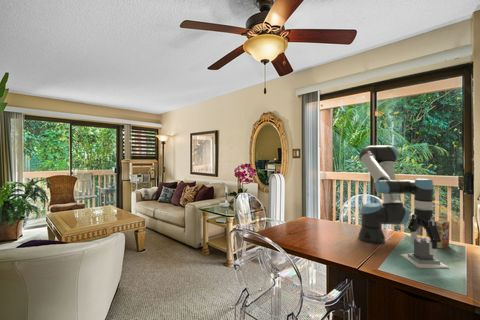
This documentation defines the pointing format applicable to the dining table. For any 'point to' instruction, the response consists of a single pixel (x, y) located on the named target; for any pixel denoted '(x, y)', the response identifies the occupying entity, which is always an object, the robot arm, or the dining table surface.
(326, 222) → the dining table surface
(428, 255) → the block
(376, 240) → the robot arm
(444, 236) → the candy box
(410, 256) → the end holder
